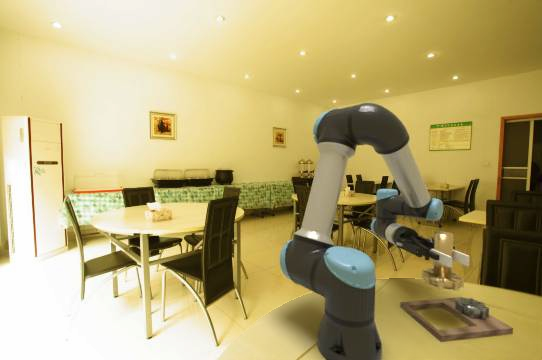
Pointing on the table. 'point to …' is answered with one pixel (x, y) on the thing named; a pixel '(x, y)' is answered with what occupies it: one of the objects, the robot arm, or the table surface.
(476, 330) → the plate
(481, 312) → the sun gear
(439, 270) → the planet gear
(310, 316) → the table surface
